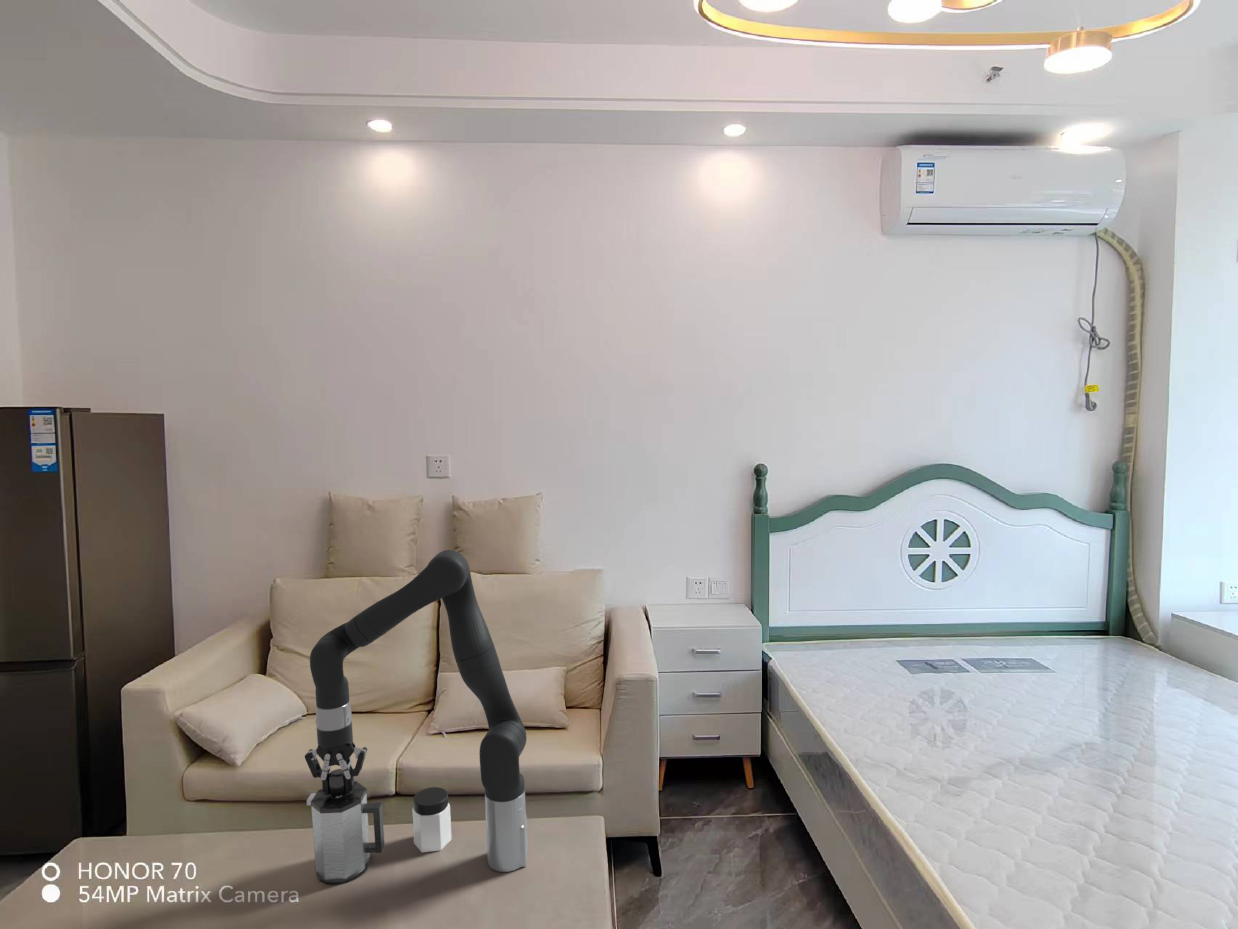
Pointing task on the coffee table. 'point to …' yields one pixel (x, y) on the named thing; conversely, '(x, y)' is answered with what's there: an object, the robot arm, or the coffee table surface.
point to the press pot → (344, 834)
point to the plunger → (337, 783)
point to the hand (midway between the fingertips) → (338, 792)
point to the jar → (431, 819)
